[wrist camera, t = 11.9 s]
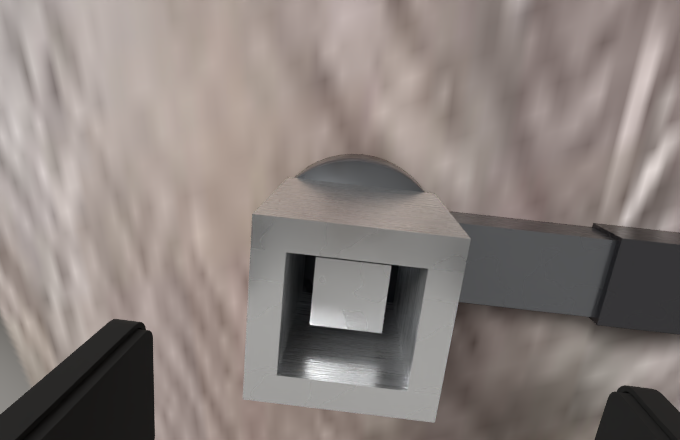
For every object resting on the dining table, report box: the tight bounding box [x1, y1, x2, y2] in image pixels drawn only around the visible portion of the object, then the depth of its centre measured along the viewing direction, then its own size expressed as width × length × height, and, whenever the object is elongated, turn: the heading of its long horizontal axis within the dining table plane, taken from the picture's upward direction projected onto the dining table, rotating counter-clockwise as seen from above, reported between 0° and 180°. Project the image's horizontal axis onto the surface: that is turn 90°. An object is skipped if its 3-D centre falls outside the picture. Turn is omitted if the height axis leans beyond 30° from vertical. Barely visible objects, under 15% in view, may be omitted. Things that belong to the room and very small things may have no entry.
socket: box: [243, 177, 471, 423], centre depth 16 cm, size 6×6×6 cm
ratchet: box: [294, 154, 680, 334], centre depth 18 cm, size 24×8×6 cm, turn 84°
